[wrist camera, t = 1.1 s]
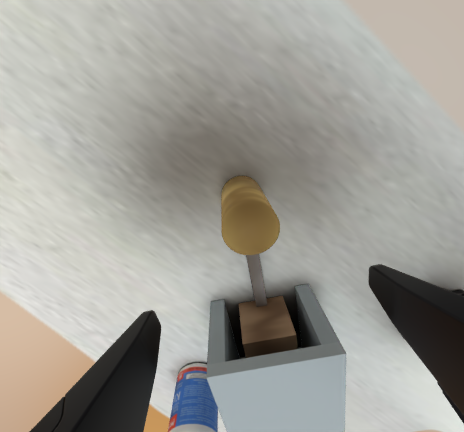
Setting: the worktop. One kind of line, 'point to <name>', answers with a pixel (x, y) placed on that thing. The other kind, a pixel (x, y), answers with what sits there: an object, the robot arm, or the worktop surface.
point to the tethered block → (256, 266)
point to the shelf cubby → (279, 376)
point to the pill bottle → (193, 402)
